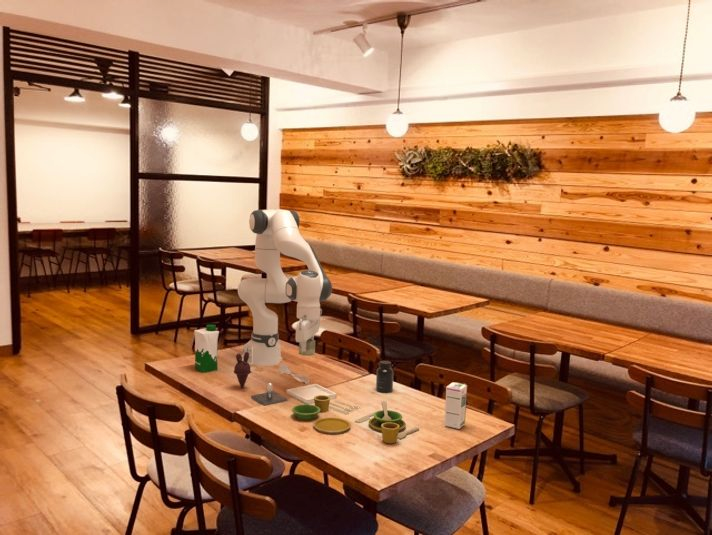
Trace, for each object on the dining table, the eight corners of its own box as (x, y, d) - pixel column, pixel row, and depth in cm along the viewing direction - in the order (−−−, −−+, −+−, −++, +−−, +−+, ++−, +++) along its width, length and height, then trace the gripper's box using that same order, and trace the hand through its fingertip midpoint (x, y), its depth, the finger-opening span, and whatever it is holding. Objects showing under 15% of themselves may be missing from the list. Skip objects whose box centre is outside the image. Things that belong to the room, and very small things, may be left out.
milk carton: (220, 372, 260) (221, 326, 258) (201, 375, 254) (201, 329, 252) (210, 367, 267) (210, 322, 264) (191, 370, 261) (191, 325, 258)
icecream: (239, 393, 234) (240, 356, 233) (229, 388, 240) (230, 351, 238) (254, 389, 239) (255, 353, 237) (244, 385, 245) (244, 349, 243)
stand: (251, 398, 230) (251, 381, 229) (273, 393, 236) (274, 377, 235) (264, 406, 222) (264, 389, 221) (287, 401, 228) (288, 384, 228)
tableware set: (424, 430, 207) (425, 413, 206) (374, 455, 186) (375, 436, 185) (335, 400, 233) (336, 384, 233) (282, 419, 212) (283, 401, 211)
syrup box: (459, 429, 208) (462, 388, 206) (443, 425, 211) (446, 385, 209) (465, 424, 213) (467, 384, 211) (449, 420, 216) (451, 381, 214)
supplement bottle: (380, 386, 250) (382, 358, 249) (395, 390, 247) (396, 361, 245) (372, 391, 244) (374, 362, 243) (387, 394, 241) (389, 365, 239)
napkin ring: (295, 353, 232) (296, 340, 231) (307, 350, 236) (308, 338, 236) (306, 356, 228) (306, 343, 227) (317, 353, 232) (318, 341, 231)
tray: (286, 394, 236) (286, 389, 236) (315, 388, 245) (316, 383, 245) (306, 404, 225) (306, 400, 225) (336, 398, 234) (336, 393, 234)
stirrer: (313, 385, 249) (313, 374, 249) (306, 386, 247) (306, 375, 246) (283, 373, 263) (283, 362, 263) (276, 374, 261) (277, 364, 260)
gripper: (308, 319, 219) (307, 356, 221) (323, 309, 239) (321, 343, 241) (291, 317, 221) (290, 354, 222) (307, 308, 241) (306, 341, 242)
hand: (307, 348), depth 232 cm, fingers closed on napkin ring, 6 cm apart
